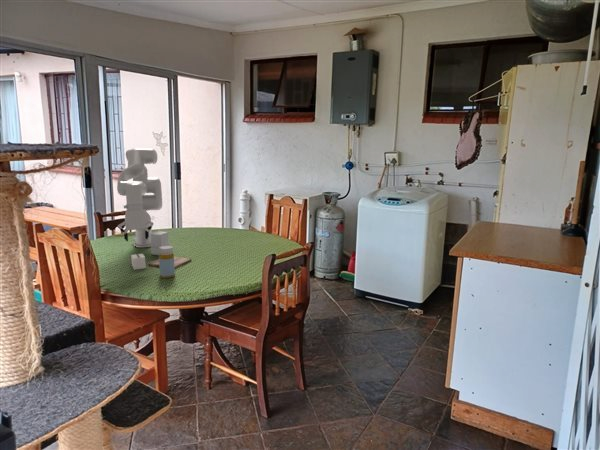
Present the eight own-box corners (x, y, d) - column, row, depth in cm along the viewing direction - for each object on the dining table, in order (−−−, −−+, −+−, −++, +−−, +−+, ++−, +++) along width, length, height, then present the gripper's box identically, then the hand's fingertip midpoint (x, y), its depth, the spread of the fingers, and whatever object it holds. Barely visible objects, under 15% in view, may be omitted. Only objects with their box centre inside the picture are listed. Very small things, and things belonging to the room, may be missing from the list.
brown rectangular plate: (148, 265, 223) (147, 256, 222) (167, 257, 238) (167, 248, 237) (173, 269, 218) (172, 259, 217) (191, 261, 233) (191, 252, 231)
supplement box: (169, 252, 248) (168, 231, 245) (161, 255, 241) (160, 234, 238) (159, 251, 250) (158, 230, 247) (151, 254, 243) (149, 233, 241)
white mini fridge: (133, 269, 216) (133, 257, 215) (131, 265, 222) (131, 254, 221) (145, 268, 219) (144, 256, 218) (143, 264, 225) (142, 252, 224)
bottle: (161, 274, 210) (160, 245, 207) (176, 273, 211) (174, 245, 208) (158, 278, 204) (156, 249, 200) (173, 278, 204) (171, 249, 201)
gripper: (117, 209, 206) (119, 243, 210) (153, 207, 215) (155, 239, 218) (115, 207, 213) (118, 240, 216) (151, 205, 221) (152, 236, 224)
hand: (136, 239), depth 217 cm, fingers open, 9 cm apart
